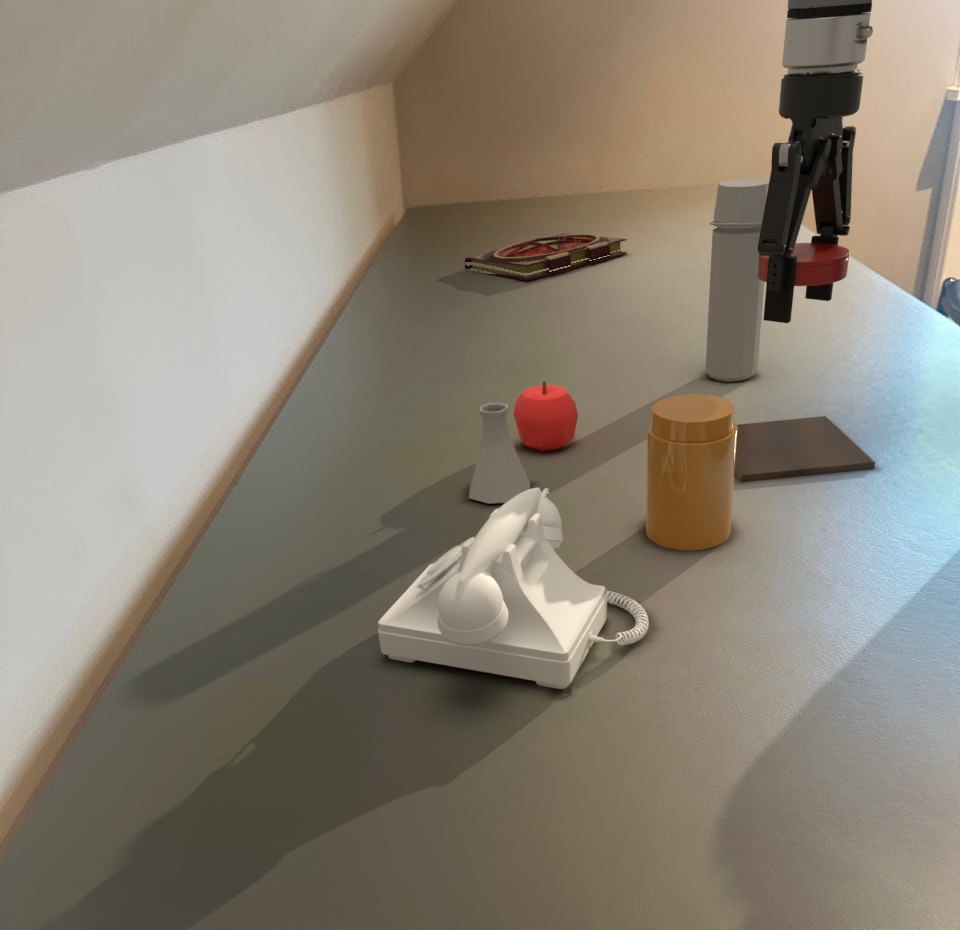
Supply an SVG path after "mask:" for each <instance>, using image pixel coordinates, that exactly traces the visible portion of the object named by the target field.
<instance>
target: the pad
mask: <svg viewBox="0 0 960 930" xmlns="http://www.w3.org/2000/svg"><path fill="white" fill-rule="evenodd" d="M736 425H737V427H738V433H737V447H736V461H735V477H737V479H738V480H739V481H740V482H741V483H742V482H753V481H764V480H773V479H783V478H793V477H803V476H812V475H823V474H824V475H825V474H833V473H844V472H845V473H846V472H853V471H854V472H855V471H863V470H864V471H865V470H873V469H875V467H876V462H875V460H873V458H871V457H870V456H869V455H868V454H867V453H866V452H865V451H864V450H863V449H862V448H861V447H859V446H858V445H857V443H856V442H854V441H853V440H852V439H851V438H850V437H849V436H848V435H847V434H845V432H844V431H842V429H840V428H839V427H838V426H837V424H835V423H833V421H832V420H830V418H828V417H827V416H826V415H822V416H821V415H820V416H812V417H810V416H809V417H802V418H801V417H800V418H791V419H781V420H771V421H761V422H760V421H759V422H749V423H740V424H736Z"/></svg>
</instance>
